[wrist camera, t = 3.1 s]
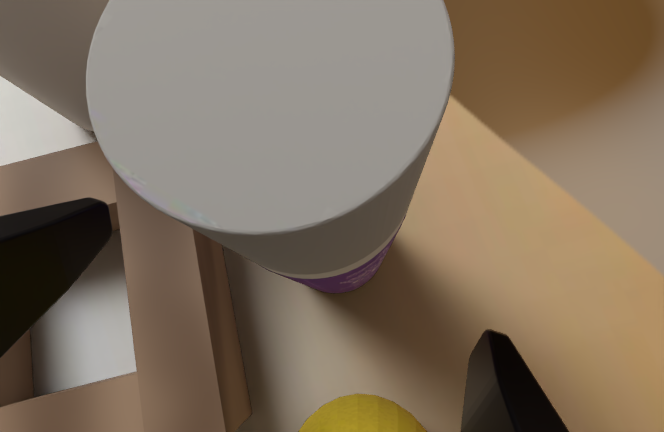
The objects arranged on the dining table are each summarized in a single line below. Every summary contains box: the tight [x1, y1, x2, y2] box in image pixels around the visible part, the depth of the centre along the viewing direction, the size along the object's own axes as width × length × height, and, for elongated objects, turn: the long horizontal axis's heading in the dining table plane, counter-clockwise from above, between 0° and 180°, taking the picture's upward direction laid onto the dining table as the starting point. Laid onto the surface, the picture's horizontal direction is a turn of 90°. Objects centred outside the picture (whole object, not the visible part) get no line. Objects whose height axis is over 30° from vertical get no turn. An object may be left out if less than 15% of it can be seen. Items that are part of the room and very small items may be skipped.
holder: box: [0, 141, 252, 432], centre depth 18 cm, size 13×13×4 cm
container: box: [86, 0, 455, 293], centre depth 12 cm, size 5×5×15 cm
